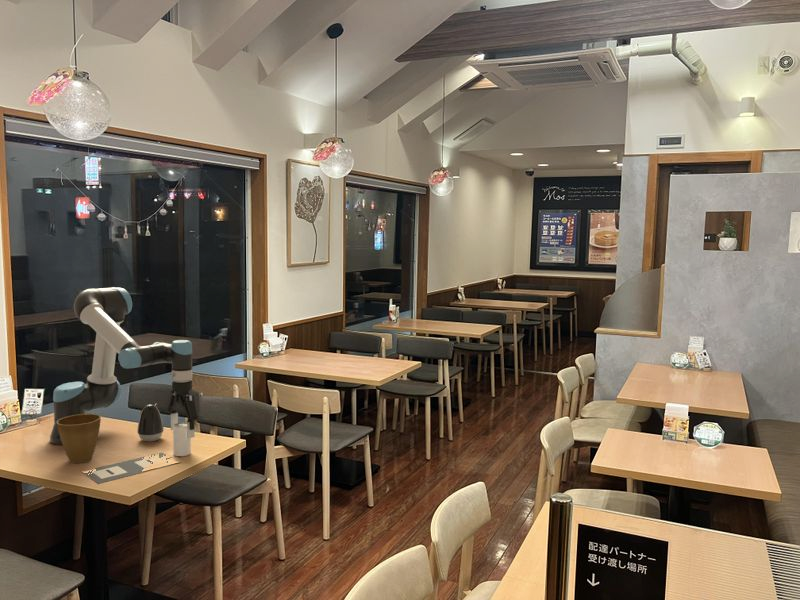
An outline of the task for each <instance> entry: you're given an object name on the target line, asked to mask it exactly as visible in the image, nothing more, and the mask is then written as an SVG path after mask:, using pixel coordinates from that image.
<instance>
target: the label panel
mask: <svg viewBox="0 0 800 600" xmlns="http://www.w3.org/2000/svg"><path fill="white" fill-rule="evenodd" d="M155 454H156V453H154V454H150V455H151V457H152V455H154V456H155ZM163 455H164V456H166V455H167V454H166V453H164V452H159V457H158V458H159V459H158V460H159V461H160V460H163V459H161V457H163ZM144 457H145V456H141V457H137V458H132V459H128V460H124V461H119V462H116V463H115V462H114V463H111V464H110V463H109V464H106V465H103V466H98V467H94V468H95V469H96V471H94V472H93V473H92V471H93V470H92V471H91V472H90V471H89V472H88V473H83V474H84V475H85V474H86V475H85V476H87V477H88V478H89V477H90V478H89V479H90V480H92V481H93V482H95V483H97V485H99V484H102V483H103V484H104V483H107V482H111V481H115V480H118V478H119V479H123V478H126V477H132V476H134V474H135V475H138V473H139V474H142V473H141V472H142V470H143V469H144V468H147V467H151V466H148V465H147V464H153V462H154V461H157V460H152V459H155V458H156V459H157V457H153V458H150V457H149V459H150V460H151V461H150V460H149V459H145V460H143V459H144ZM142 458H143V459H142ZM170 458H172V457H171V456H170ZM170 458H166V460H167V459H170ZM152 461H153V462H152ZM146 462H150V463H146ZM151 462H152V463H151ZM162 462H164V461H162ZM165 462H166V461H165ZM159 463H161V462H159ZM166 463H168V461H167V462H166ZM89 473H90V474H89ZM91 473H92V474H91ZM88 474H89V475H88ZM114 479H115V480H114ZM110 480H111V481H110Z"/></svg>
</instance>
